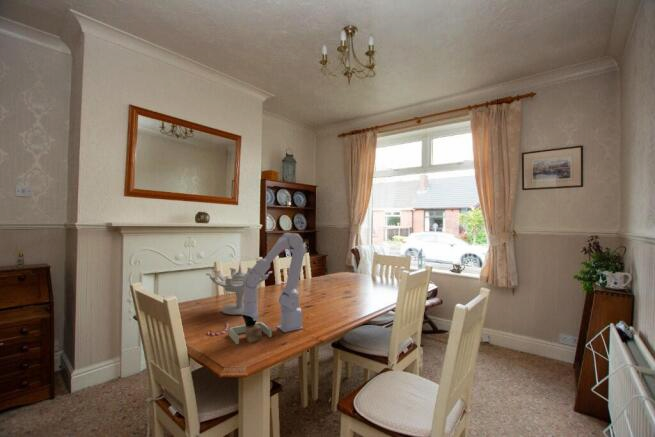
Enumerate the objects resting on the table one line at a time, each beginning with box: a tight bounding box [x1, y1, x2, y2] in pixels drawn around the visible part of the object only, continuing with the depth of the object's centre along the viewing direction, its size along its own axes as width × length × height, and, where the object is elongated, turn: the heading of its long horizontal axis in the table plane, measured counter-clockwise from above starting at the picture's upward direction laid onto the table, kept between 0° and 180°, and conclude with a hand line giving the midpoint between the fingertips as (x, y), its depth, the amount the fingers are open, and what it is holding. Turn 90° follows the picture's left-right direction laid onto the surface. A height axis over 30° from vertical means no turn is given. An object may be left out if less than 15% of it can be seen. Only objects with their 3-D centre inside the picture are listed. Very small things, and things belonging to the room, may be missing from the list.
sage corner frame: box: [228, 321, 273, 345], centre depth 127 cm, size 15×12×3 cm
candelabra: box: [205, 262, 273, 316], centre depth 162 cm, size 34×35×27 cm
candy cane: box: [206, 322, 230, 337], centre depth 134 cm, size 8×1×15 cm
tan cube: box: [245, 324, 262, 343], centre depth 123 cm, size 5×5×5 cm
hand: (250, 332), depth 127 cm, fingers closed
